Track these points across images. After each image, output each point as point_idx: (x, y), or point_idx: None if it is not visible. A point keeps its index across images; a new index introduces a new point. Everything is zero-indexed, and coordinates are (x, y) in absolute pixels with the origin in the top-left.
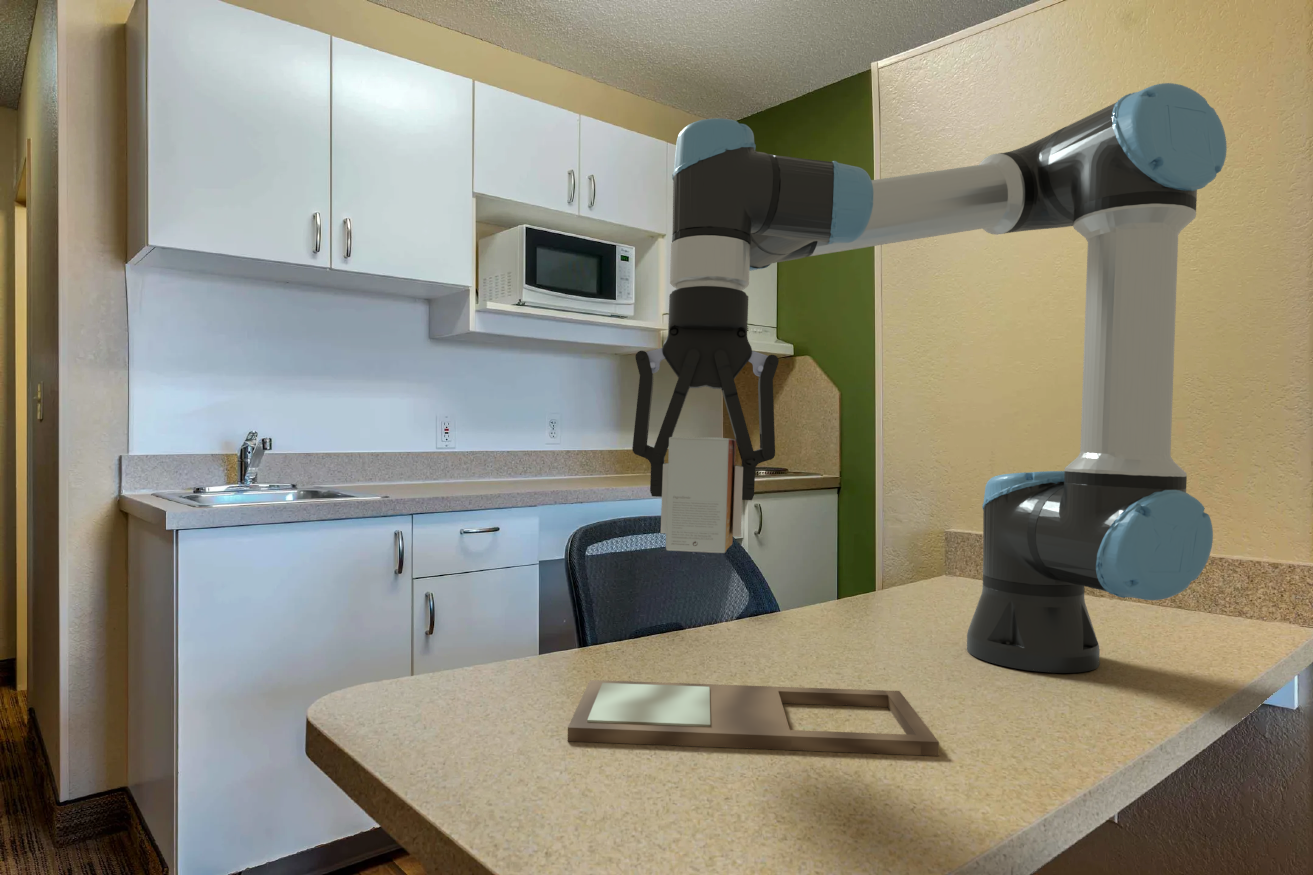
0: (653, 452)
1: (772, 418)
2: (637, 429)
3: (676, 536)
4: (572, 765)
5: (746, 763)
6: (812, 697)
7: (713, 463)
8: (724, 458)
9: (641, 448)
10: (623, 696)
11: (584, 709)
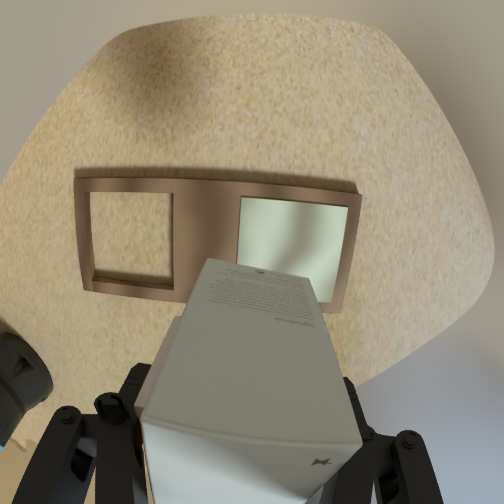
0: (373, 441)
1: (26, 480)
2: (428, 478)
3: (294, 283)
4: (352, 145)
5: (216, 148)
6: (147, 285)
7: (208, 367)
8: (170, 372)
9: (404, 442)
10: (315, 267)
11: (349, 237)
